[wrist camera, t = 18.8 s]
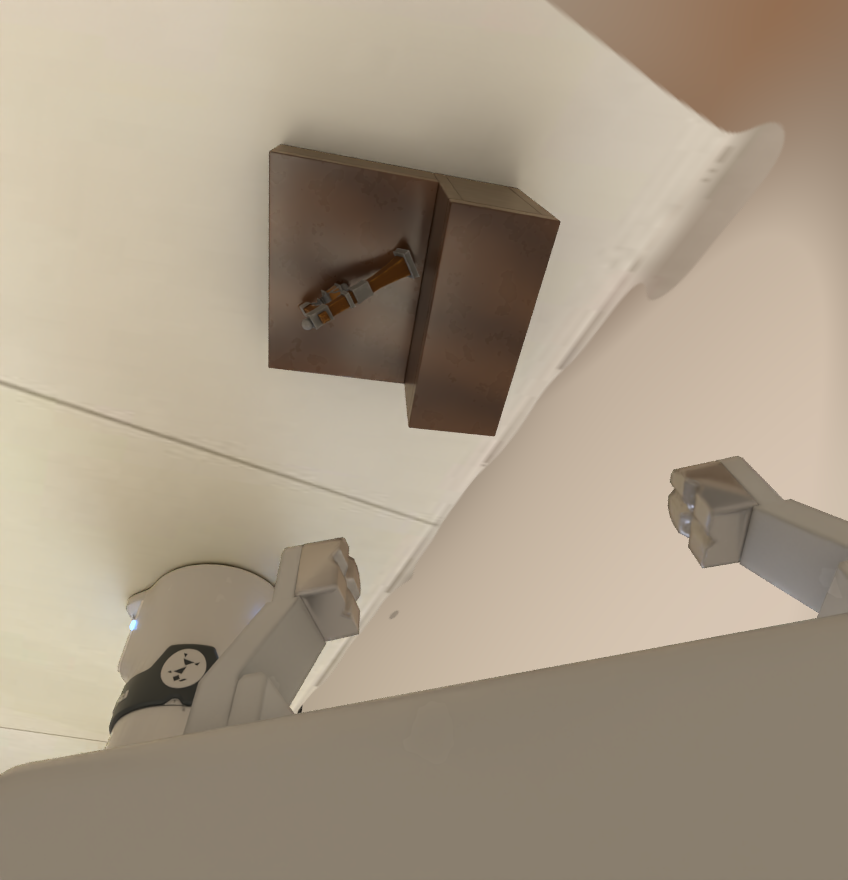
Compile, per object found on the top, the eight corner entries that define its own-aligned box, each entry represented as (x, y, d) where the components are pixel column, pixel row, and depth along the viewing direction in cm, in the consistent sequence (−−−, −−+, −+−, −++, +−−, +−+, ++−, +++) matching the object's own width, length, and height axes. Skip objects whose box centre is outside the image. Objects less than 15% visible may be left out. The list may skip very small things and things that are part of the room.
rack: (472, 369, 43) (495, 436, 35) (277, 344, 40) (251, 411, 32) (518, 188, 35) (561, 221, 27) (279, 143, 33) (247, 165, 24)
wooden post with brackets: (281, 303, 33) (298, 316, 30) (382, 244, 35) (410, 250, 31) (295, 327, 34) (313, 342, 31) (392, 269, 36) (421, 277, 32)
